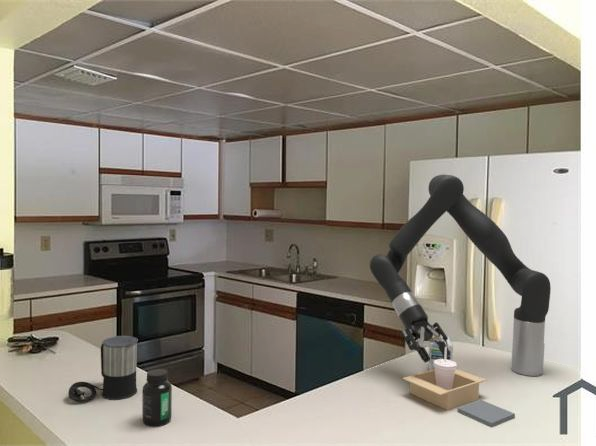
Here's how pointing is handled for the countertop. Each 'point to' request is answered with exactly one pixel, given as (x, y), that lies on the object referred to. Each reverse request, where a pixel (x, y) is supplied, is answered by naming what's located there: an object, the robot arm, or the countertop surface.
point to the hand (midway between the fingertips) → (438, 358)
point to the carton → (460, 393)
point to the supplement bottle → (157, 399)
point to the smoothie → (444, 372)
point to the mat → (486, 413)
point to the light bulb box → (439, 352)
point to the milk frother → (113, 370)
